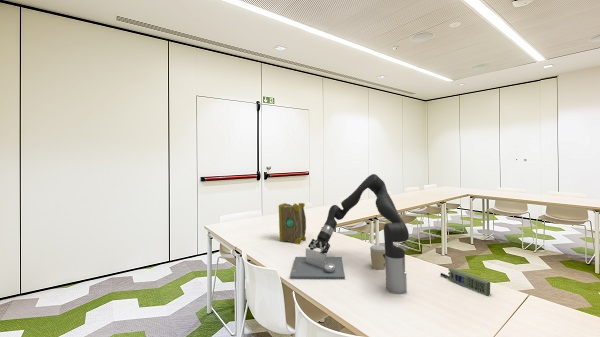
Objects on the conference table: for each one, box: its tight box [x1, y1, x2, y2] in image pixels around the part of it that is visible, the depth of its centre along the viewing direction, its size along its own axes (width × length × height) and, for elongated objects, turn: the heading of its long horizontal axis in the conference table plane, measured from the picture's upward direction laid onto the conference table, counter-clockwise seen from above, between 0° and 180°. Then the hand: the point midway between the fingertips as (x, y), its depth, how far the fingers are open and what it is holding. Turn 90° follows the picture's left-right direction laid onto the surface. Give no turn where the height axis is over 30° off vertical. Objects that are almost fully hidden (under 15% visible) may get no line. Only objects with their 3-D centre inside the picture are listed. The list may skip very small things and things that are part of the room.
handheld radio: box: [440, 266, 491, 297], centre depth 143 cm, size 7×3×25 cm
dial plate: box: [289, 256, 346, 280], centre depth 169 cm, size 30×30×2 cm
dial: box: [305, 247, 335, 272], centre depth 166 cm, size 22×6×8 cm, turn 43°
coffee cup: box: [369, 244, 386, 271], centre depth 168 cm, size 9×9×12 cm
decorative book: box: [278, 202, 307, 245], centre depth 224 cm, size 20×11×30 cm, turn 63°
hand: (313, 256), depth 171 cm, fingers open, 8 cm apart
